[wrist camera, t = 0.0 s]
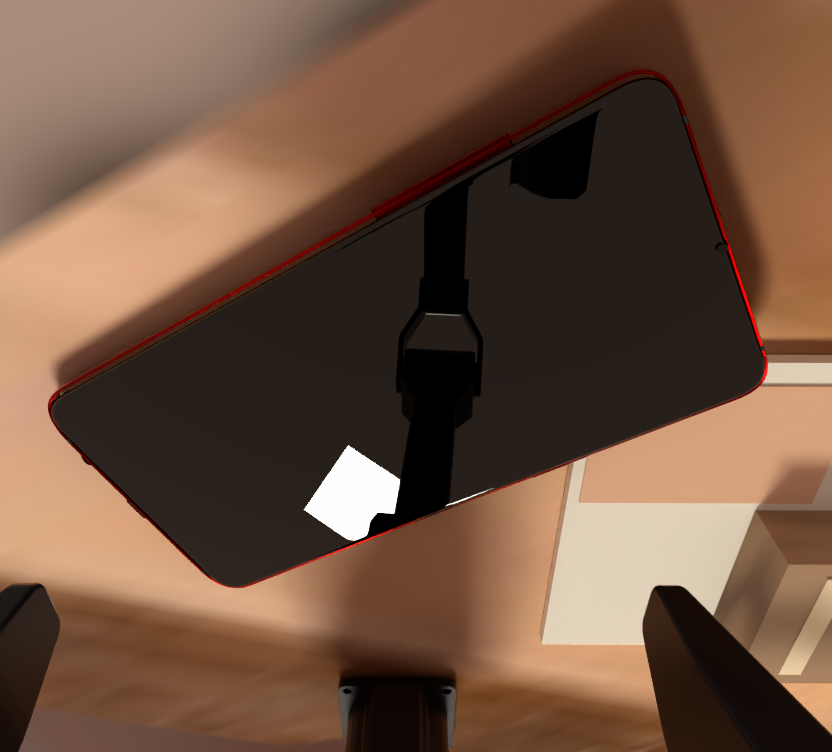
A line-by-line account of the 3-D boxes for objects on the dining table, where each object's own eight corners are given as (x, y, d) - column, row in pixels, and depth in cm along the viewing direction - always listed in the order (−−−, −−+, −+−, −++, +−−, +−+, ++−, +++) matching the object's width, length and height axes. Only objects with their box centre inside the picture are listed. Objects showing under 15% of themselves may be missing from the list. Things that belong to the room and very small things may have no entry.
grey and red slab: (20, 410, 24) (670, 46, 17) (43, 388, 25) (654, 41, 18) (222, 603, 29) (784, 392, 22) (232, 577, 31) (765, 369, 23)
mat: (807, 634, 33) (814, 646, 33) (539, 634, 33) (541, 646, 33) (956, 355, 24) (969, 364, 24) (587, 353, 24) (591, 363, 24)
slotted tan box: (798, 626, 32) (832, 685, 29) (709, 626, 32) (735, 685, 29) (858, 510, 28) (904, 566, 25) (755, 510, 28) (790, 566, 25)
